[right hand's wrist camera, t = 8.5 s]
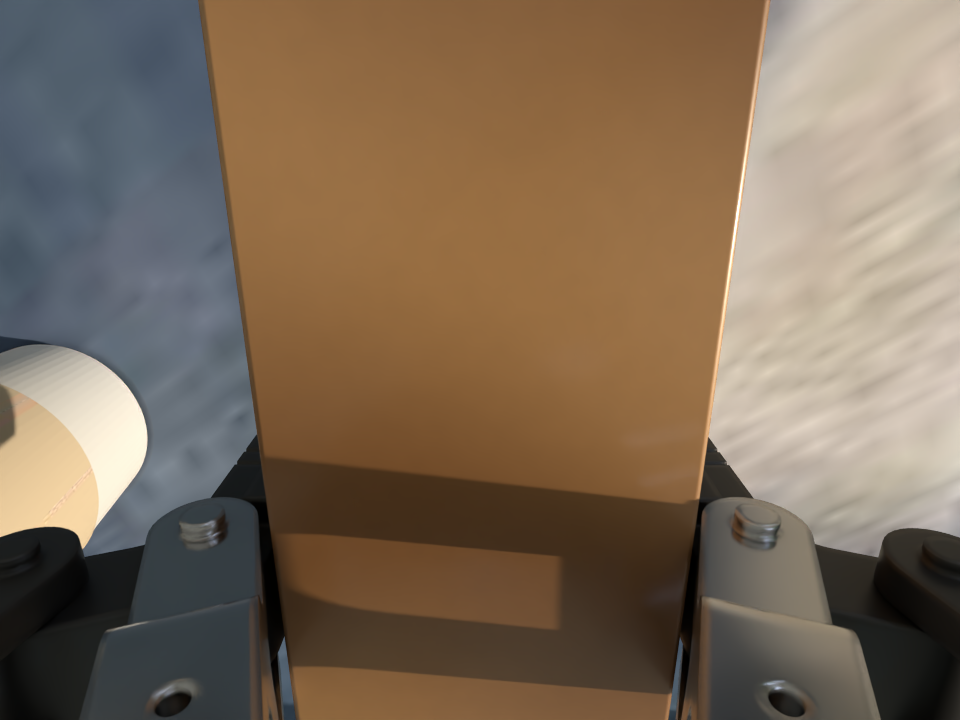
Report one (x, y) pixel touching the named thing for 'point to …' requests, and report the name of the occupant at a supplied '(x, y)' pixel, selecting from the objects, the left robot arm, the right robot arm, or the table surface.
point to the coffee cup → (64, 439)
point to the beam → (483, 334)
